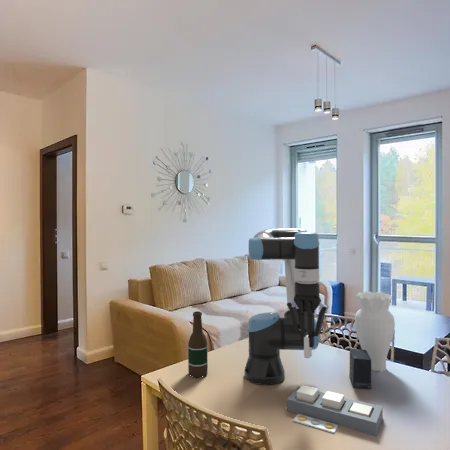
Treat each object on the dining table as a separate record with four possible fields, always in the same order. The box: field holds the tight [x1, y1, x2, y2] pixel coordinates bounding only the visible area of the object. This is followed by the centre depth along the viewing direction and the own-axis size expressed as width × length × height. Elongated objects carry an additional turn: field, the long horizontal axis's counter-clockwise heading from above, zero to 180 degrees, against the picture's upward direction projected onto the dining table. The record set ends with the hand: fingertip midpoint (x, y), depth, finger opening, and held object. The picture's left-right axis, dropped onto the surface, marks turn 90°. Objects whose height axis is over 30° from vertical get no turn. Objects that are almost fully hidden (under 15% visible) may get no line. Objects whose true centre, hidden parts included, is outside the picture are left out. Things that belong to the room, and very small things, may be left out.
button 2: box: [322, 390, 345, 410], centre depth 110 cm, size 5×5×2 cm
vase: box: [354, 291, 396, 372], centre depth 145 cm, size 15×15×29 cm
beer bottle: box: [187, 310, 209, 378], centre depth 141 cm, size 8×8×24 cm
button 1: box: [297, 384, 320, 403], centre depth 114 cm, size 5×5×2 cm
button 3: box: [350, 402, 372, 418], centre depth 106 cm, size 5×5×2 cm
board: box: [286, 386, 384, 436], centre depth 110 cm, size 26×10×4 cm, turn 58°
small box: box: [349, 348, 372, 390], centre depth 132 cm, size 11×6×10 cm, turn 168°
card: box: [292, 413, 339, 434], centre depth 105 cm, size 12×4×1 cm, turn 58°
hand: (307, 356), depth 114 cm, fingers closed
